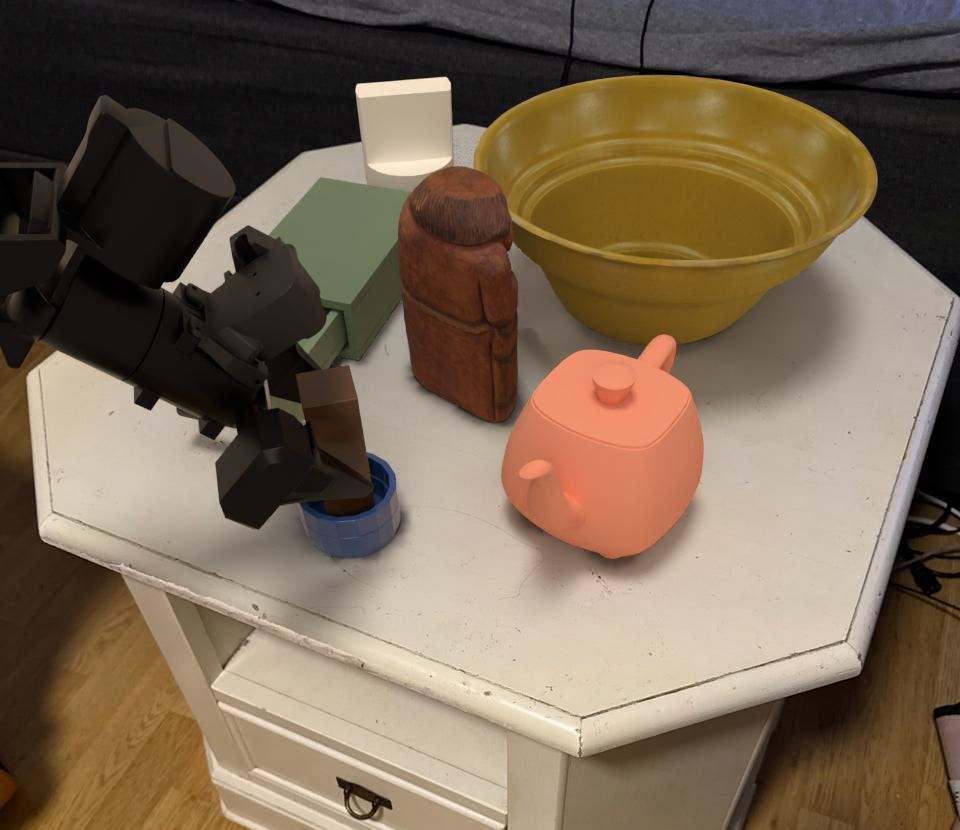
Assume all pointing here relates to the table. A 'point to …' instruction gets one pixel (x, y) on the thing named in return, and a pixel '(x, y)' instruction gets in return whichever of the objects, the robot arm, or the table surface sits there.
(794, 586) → the table surface
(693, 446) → the teapot
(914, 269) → the table surface
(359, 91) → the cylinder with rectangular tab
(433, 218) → the wooden figurine
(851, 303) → the table surface
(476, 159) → the planter bowl
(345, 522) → the blue bowl
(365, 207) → the cabinet
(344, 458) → the walnut block
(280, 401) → the drawer
